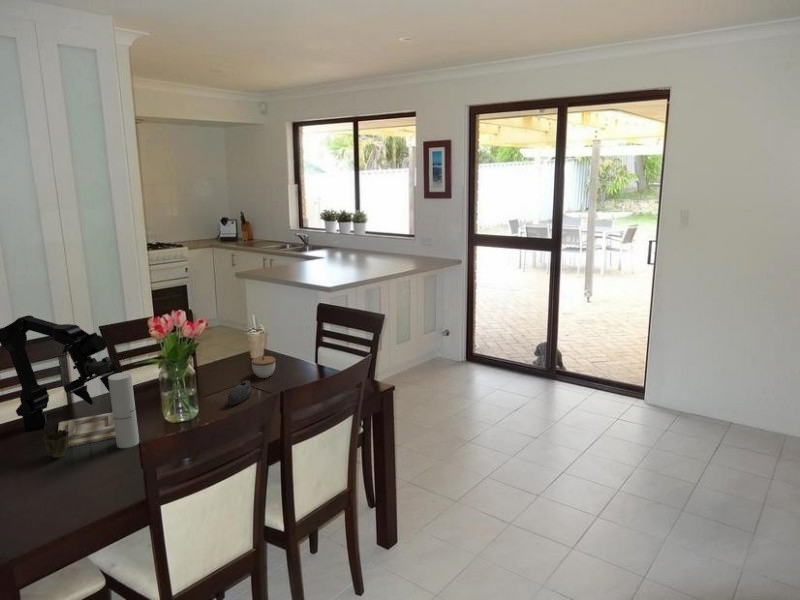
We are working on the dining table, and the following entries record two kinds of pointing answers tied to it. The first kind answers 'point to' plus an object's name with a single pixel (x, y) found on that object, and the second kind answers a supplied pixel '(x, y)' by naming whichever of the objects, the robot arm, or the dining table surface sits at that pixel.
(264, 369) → the lidded jar
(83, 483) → the dining table surface
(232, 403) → the perforated stone tool
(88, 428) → the docking plate
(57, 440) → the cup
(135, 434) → the cylindrical container
